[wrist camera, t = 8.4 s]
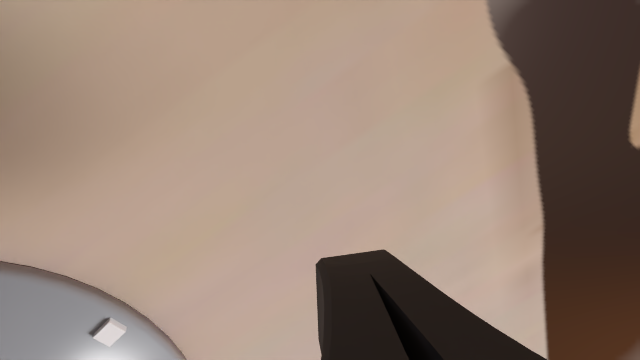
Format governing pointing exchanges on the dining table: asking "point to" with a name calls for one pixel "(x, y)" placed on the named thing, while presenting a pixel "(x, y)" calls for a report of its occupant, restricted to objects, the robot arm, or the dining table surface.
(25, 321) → the dial base
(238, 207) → the dining table surface
